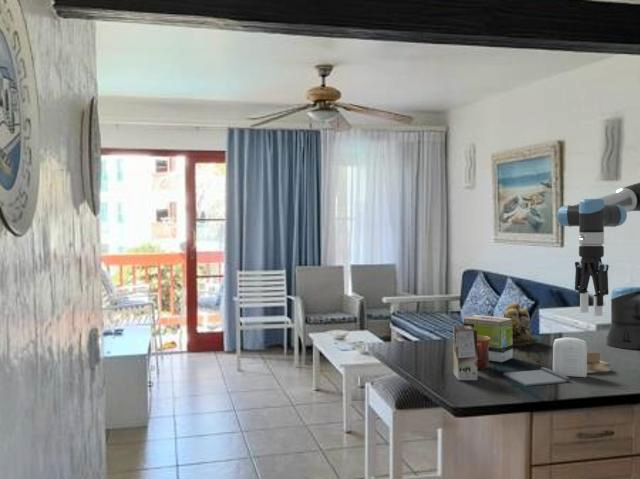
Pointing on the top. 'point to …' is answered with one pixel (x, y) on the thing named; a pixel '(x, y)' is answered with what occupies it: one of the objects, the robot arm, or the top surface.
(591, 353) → the tall brown carton
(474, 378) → the coffee box
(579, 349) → the photo printer
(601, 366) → the rest
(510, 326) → the tea box
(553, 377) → the mat
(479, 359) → the mug
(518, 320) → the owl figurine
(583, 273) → the robot arm
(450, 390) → the top surface
